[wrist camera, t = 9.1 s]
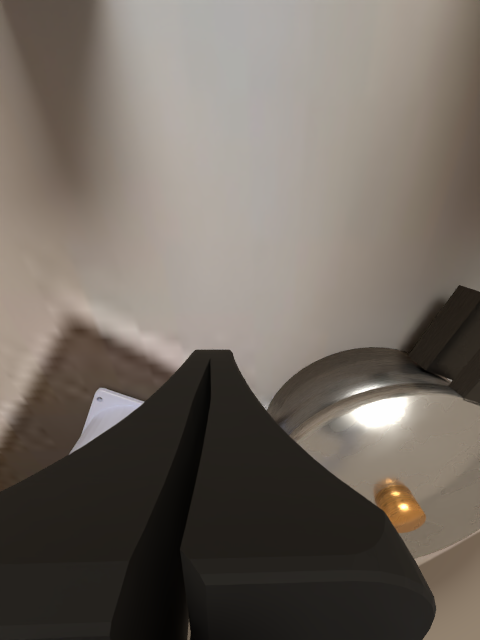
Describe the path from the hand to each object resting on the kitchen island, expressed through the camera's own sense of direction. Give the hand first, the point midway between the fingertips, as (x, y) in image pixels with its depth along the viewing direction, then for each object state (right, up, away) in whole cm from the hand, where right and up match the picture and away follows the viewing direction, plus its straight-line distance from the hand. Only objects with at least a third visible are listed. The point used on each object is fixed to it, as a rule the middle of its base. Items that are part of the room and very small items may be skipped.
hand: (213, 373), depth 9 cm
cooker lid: (+13, -8, +9) cm, 18 cm away
